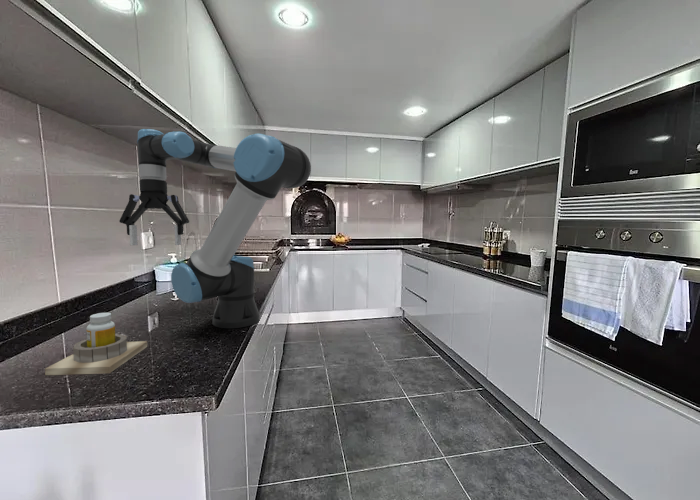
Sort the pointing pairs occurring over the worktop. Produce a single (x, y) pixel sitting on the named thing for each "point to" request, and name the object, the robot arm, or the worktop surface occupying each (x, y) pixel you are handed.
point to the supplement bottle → (100, 330)
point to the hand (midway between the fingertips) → (156, 245)
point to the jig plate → (95, 366)
